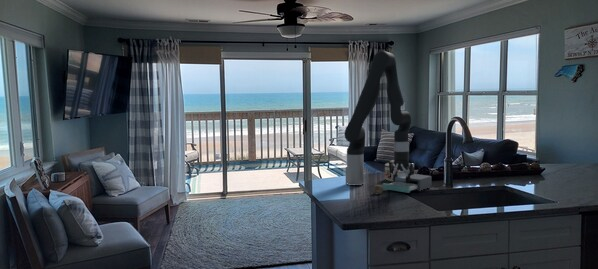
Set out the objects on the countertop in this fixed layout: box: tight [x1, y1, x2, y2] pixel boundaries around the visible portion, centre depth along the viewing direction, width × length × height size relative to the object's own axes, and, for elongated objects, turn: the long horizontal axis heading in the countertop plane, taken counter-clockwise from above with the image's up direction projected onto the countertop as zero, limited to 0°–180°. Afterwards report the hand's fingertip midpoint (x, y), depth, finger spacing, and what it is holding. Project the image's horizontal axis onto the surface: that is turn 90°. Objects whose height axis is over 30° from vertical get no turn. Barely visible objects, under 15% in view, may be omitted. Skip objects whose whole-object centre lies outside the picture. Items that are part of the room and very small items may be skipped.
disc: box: [395, 176, 406, 182], centre depth 214 cm, size 6×6×2 cm
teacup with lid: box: [384, 159, 401, 181], centre depth 240 cm, size 12×9×12 cm
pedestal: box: [373, 184, 383, 195], centre depth 209 cm, size 4×4×4 cm
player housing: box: [392, 172, 433, 192], centre depth 222 cm, size 16×12×6 cm
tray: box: [382, 181, 418, 194], centre depth 215 cm, size 15×12×3 cm
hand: (401, 182), depth 214 cm, fingers closed on disc, 6 cm apart
